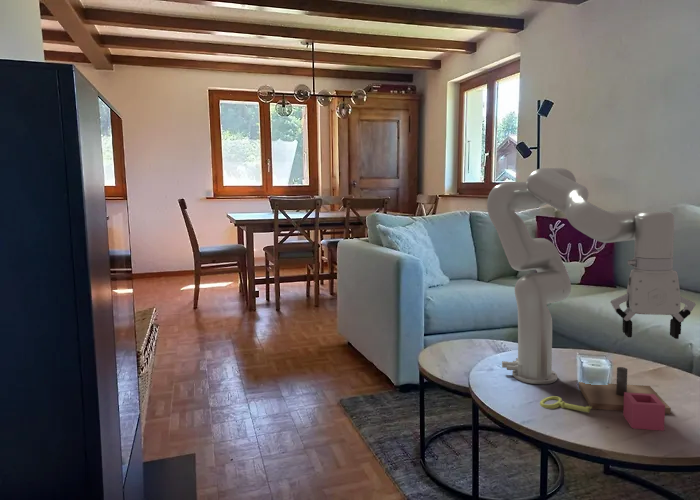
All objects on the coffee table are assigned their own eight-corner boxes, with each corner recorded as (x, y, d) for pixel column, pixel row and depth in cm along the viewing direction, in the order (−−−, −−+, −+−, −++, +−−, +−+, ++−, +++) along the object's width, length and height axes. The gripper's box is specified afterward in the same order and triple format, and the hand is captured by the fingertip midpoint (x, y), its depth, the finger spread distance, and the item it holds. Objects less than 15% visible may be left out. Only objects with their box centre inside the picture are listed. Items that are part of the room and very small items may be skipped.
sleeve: (632, 428, 111) (633, 403, 110) (623, 415, 117) (624, 392, 117) (664, 430, 109) (665, 405, 109) (653, 417, 116) (654, 394, 115)
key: (591, 417, 118) (591, 409, 117) (538, 408, 124) (538, 400, 123) (592, 406, 124) (592, 398, 124) (542, 398, 130) (542, 390, 130)
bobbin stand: (590, 408, 121) (591, 376, 120) (578, 386, 135) (579, 358, 134) (670, 414, 117) (671, 380, 116) (649, 391, 131) (650, 361, 130)
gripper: (616, 267, 108) (615, 340, 110) (703, 267, 104) (700, 342, 106) (607, 262, 116) (606, 331, 117) (688, 262, 111) (685, 333, 113)
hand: (650, 336), depth 112 cm, fingers open, 9 cm apart
